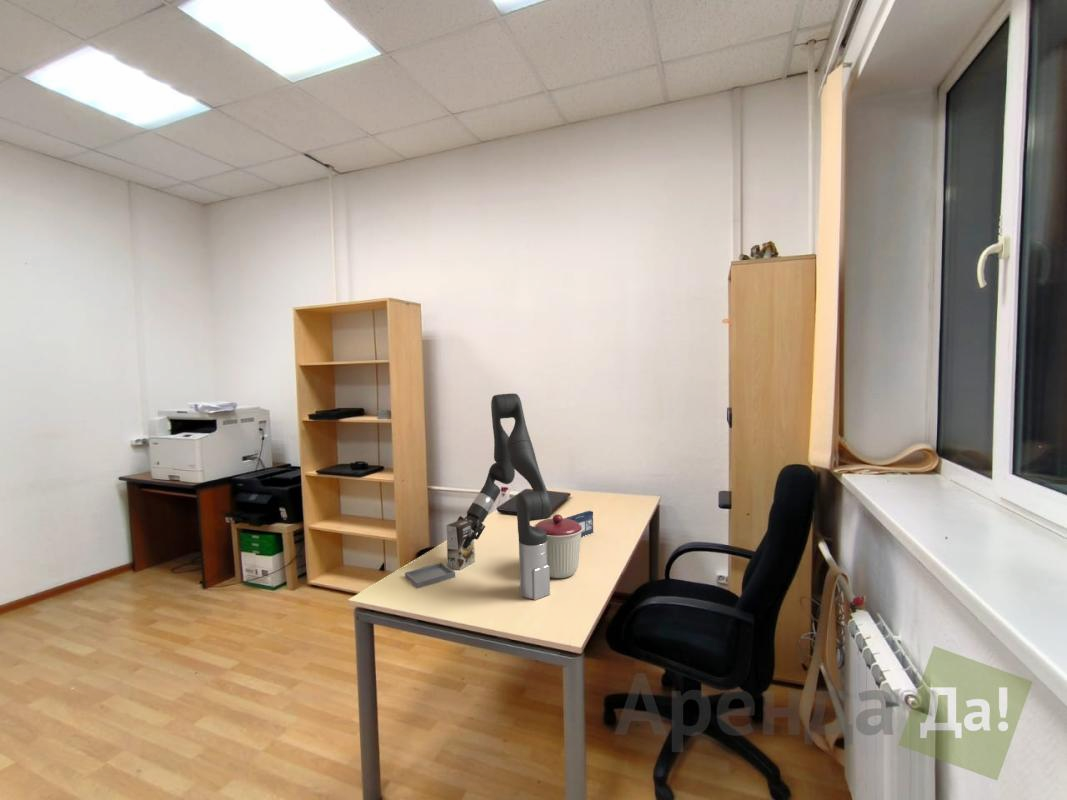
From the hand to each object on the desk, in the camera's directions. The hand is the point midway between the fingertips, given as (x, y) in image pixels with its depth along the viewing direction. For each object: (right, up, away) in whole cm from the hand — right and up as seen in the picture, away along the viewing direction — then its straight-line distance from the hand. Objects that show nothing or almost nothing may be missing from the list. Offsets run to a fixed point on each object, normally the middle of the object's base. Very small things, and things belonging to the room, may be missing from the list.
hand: (457, 544), depth 175 cm
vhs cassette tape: (+48, -6, +28) cm, 55 cm away
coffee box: (+1, -8, +1) cm, 8 cm away
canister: (+38, -8, -8) cm, 39 cm away
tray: (-8, -9, -9) cm, 15 cm away
